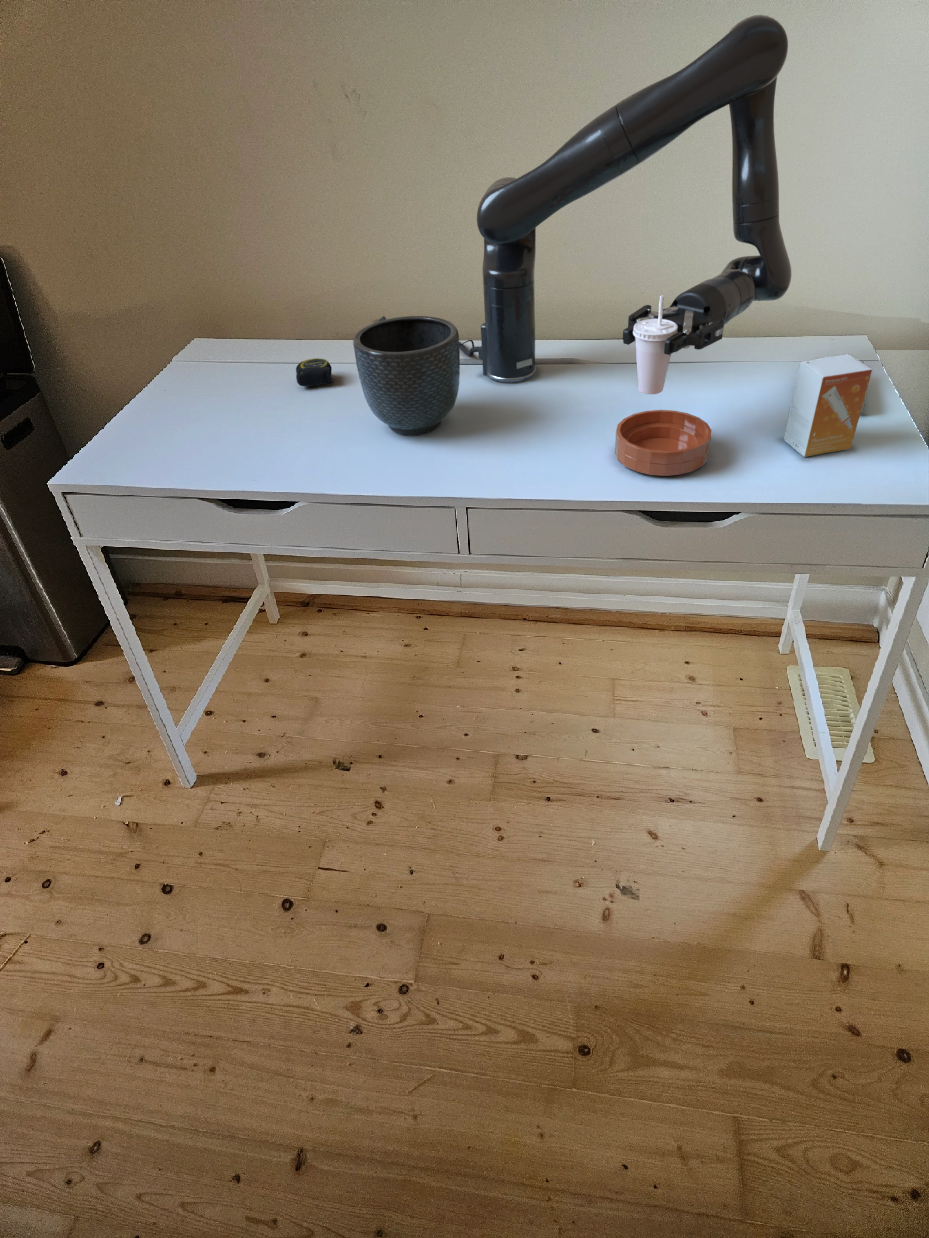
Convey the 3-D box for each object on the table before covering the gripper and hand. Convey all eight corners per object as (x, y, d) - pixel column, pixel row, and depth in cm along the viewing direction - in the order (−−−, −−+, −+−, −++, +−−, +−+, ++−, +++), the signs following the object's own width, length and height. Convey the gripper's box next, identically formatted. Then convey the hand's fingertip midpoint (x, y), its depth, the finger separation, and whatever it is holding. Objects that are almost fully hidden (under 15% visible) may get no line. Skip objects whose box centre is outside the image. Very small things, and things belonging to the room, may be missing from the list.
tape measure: (298, 391, 156) (294, 373, 154) (299, 377, 162) (295, 359, 159) (333, 387, 157) (330, 369, 154) (333, 373, 162) (330, 355, 160)
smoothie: (672, 398, 121) (681, 303, 112) (628, 398, 123) (633, 304, 114) (672, 380, 126) (681, 288, 117) (630, 380, 127) (635, 288, 119)
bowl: (599, 466, 127) (600, 440, 124) (637, 428, 135) (639, 403, 133) (687, 487, 120) (690, 460, 117) (720, 446, 129) (724, 420, 126)
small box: (804, 458, 124) (822, 377, 116) (782, 440, 129) (798, 360, 121) (852, 450, 125) (873, 368, 117) (829, 432, 130) (848, 352, 122)
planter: (349, 441, 139) (333, 349, 129) (392, 399, 151) (381, 312, 141) (441, 453, 133) (432, 358, 123) (479, 408, 145) (473, 318, 135)
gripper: (667, 276, 129) (605, 307, 120) (752, 291, 121) (692, 327, 112) (663, 323, 133) (603, 357, 124) (744, 341, 125) (686, 379, 116)
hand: (645, 342), depth 118 cm, fingers closed on smoothie, 6 cm apart
